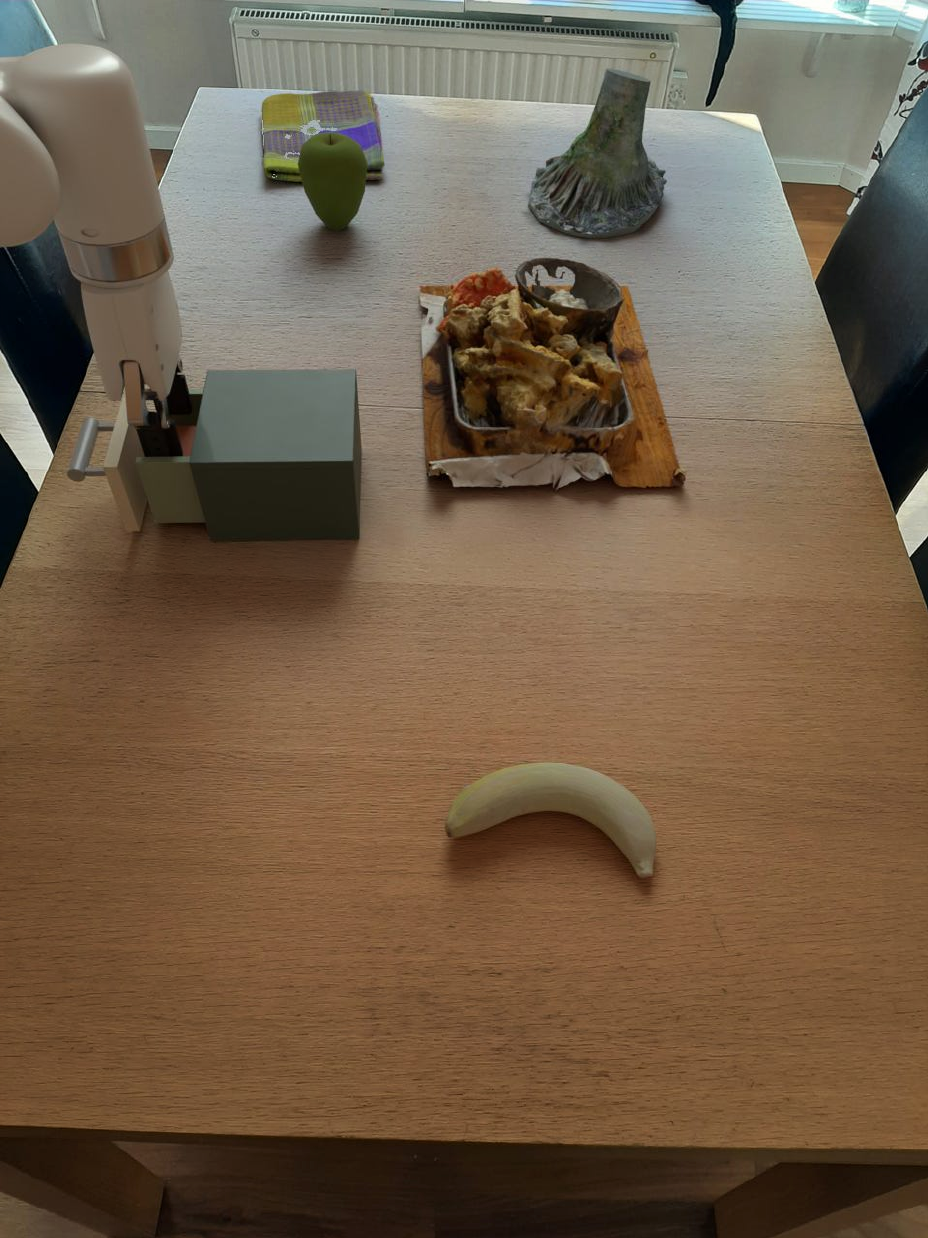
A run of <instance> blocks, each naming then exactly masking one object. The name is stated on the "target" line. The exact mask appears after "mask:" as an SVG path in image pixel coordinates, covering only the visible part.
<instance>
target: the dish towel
mask: <svg viewBox="0 0 928 1238" xmlns="http://www.w3.org/2000/svg"><path fill="white" fill-rule="evenodd" d="M378 107H379V106H378V104H377V103H376V102H375V97H374V96H372V95H371V93H370V92H369V91H366V92H365V90H364V89H358V90H357V89H356V90H345V91H338V90H337V91H336V90H331V91H330V90H329V91H318V92H312V93H291V92H290V93H278V94H277V93H276V94H272V95H269V96H267V97H265V99H263V101H262V102H261V112H262V120H263V128H264V130H263V135H264V146H263V138H262V137H261V144H262V148H263V147H264V154H263V153H262V166H263V172H264V174H265V176H267V177H268V176H269V177H268V178H269V179H272V180H278V181H286V182H294V183H295V182H297V183H298V182H299V183H300V182H301V183H302V180H301V176H300V172H299V167H298V162H297V161H298V160H299V156H300V155H298V154H294V155H293V154H288V155H287V158H289V159H286V158H285V157H284V156H285V154H286V152H287V153H288V152H292V153H295V152H296V153H298V152H299V153H300V151H301V147H302V144H304V143H305V142H306V141H307V140H309V139H310V138H311V137H312V136H314V135H310V136H309V135H307V134H306V135H305V134H304V133H303V132H301V129H303V128H302V127H300V126H303V125H308V123H309V122H310V121H312V120H316V121H317V120H320V122H318V123H319V125H320V127H321V128H325V130H323V131H320V132H319V133H318V134H320V133H326V132H334V133H340V134H343V135H346V136H348V137H350V138H352V139H353V140H354V141H356V142H357V143H358V144H360V146H361V148H362V149H363V152H364V154H365V157H366V160H367V162H368V165H367V175H366V181H374V180H376V181H377V180H382V179H383V178H382V174H383V173H382V172H383V169H384V167H385V159H384V155H383V152H382V135H381V132H382V131H381V127H380V117H379V116H380V115H379V109H378ZM260 126H261V128H260V129H261V131H260V132H261V133H260V134H261V135H262V123H261V122H260ZM303 127H304V126H303ZM332 127H333V128H337V130H336V131H331V130H326V128H330V129H331V128H332ZM316 131H317V130H316V129H315V128H314V127H310V128H308V129H307V133H311V134H313V133H315V132H316ZM286 134H288V135H290V136H291V135H292V136H291V137H290V139H287V138H285V136H286ZM315 135H316V134H315ZM293 151H294V152H293ZM263 156H264V157H263ZM290 159H292V160H290ZM294 160H295V161H294ZM273 174H275V175H273ZM272 176H273V177H275V178H271V177H272ZM276 176H277V177H276Z"/></svg>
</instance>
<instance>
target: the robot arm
mask: <svg viewBox="0 0 928 1238" xmlns="http://www.w3.org/2000/svg"><path fill="white" fill-rule="evenodd" d="M138 97H139V96H138V92H137V88H136V85H135V81H134V78H133V75H132V73H131V71H130V69H129V67H128V65H127V64H126V62H124V61H123V59H122V58H121V57H120V56H119V55H117V54H116V53H114V52H112V51H110V50H108V49H107V48H105V47H102V46H97V45H92V44H85V43H62V44H53V45H50V46H49V45H48V46H45V47H42V48H38V49H36V50H33V51H30V52H28V53H26V54H25V55H21V56H19V55H18V56H0V248H12V247H17V246H21V245H25V244H27V243H29V242H31V241H33V240H35V239H37V238H38V237H39V236H40V235H42V234H43V233H44V232H45V231H47V230H48V228H49V226H50V225H51V224H52V223H53V221H54V224H55V227H56V229H57V233H58V237H59V239H60V242H61V246H62V249H63V252H64V254H65V257H66V258H65V259H66V260H67V263H68V267H69V270H70V273H71V274H72V276H73V277H74V278H75V279H76V280H78V281H79V282H80V291H81V299H82V304H83V310H84V316H85V321H86V326H87V329H88V334H89V339H90V342H91V346H92V350H93V355H94V358H95V362H96V365H97V368H98V372H99V375H100V379H101V383H102V386H103V390H104V392H105V396H106V397H107V398H108V399H109V400H110V401H111V402H116V401H118V402H121V401H122V397H123V394H124V390H125V397H126V411H127V422H128V425H129V426H134V428H135V429H136V430H137V434H138V437H139V440H140V443H141V446H142V450H143V453H144V456H145V457H183V450H182V446H181V443H180V439H179V435H178V431H177V428H176V424H175V420H170V417H169V415H188V414H191V413H192V409H193V407H192V403H191V398H190V394H189V390H188V389H189V387H188V382H187V379H186V375H185V373H183V372H184V371H183V370H184V365H183V360H182V358H181V355H180V353H181V348H182V343H183V329H182V328H183V327H182V321H181V316H180V310H179V307H178V301H177V298H176V294H175V290H174V285H173V283H172V278H171V276H170V271H169V270H170V268H171V267H172V265H173V263H174V258H175V256H174V251H173V246H172V242H171V237H170V233H169V229H168V224H167V220H166V215H165V211H164V207H163V202H162V197H161V194H160V190H159V185H158V180H157V175H156V172H155V166H154V162H153V158H152V153H151V149H150V144H149V141H148V136H147V132H146V131H147V130H146V128H145V124H144V118H143V114H142V109H141V106H140V101H139V98H138ZM182 373H183V374H182ZM145 385H146V386H148V388H145V387H146V386H145ZM146 401H153V405H154V408H155V411H150V410H149V409H148V407H147V408H146V406H147V402H146ZM147 409H148V410H147Z"/></svg>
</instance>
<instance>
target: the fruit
mask: <svg viewBox="0 0 928 1238" xmlns="http://www.w3.org/2000/svg"><path fill="white" fill-rule="evenodd" d="M538 812H561V813H566V814H570V815H573V816H576V817H579V818H581V819H582V820H585V821H587V822H589V823H590V824H592V825H594V826H595V827H596V828H598V829H599V830H601V832H603V833H604V834H605V835H606V836H607V837H608V838H609V839H610V840H611V841H612V842H613V843H614V844H615V845H616V847H617V849H619V850H620V851H621V852H622V854H623V855H624V856H625V857H626V859H627V860H628V861H629V863H630V864H631V865H632V868H633V869H634V871H635V874H636V876H637V877H638V878H640V879H646V878H650V877H652V876H653V875H654V862H655V856H656V851H657V833H656V827H655V824H654V821H653V819H652V817H651V815H650V813H649V812H648V810H647V809H646V807H645V806H644V805H643V803H642V802H641V801H640V800H639V799H638V798H637V796H636V795H634V793H632V792H631V791H630V790H629V789H627V788H626V787H624V786H623V785H622V784H621V783H619V782H618V781H616V780H614V779H613V778H611V777H609V776H607V775H605V774H603V773H601V772H599V771H597V770H594V769H591V768H588V767H586V766H581V765H573V764H569V763H565V762H550V761H549V762H532V763H523V764H518V765H512V766H507V767H504V768H501V769H498V770H495V771H492V772H490V773H488V774H486V775H485V776H482V777H480V778H479V779H477V780H476V781H474V782H472V783H470V784H467V785H465V786H463V787H462V788H461V790H460V792H459V794H457V795H456V796H455V798H454V799H453V800H452V802H451V804H450V807H449V809H448V813H447V816H446V819H445V824H444V831H445V834H446V836H447V837H448V838H449V839H450V838H451V839H453V838H455V839H457V838H461V837H466V836H470V835H473V834H476V833H479V832H482V831H485V830H487V829H489V828H492V827H494V826H497V825H499V824H501V823H503V822H506V821H508V820H510V819H513V818H515V817H519V816H523V815H526V814H531V813H532V814H533V813H538Z"/></svg>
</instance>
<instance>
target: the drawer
mask: <svg viewBox="0 0 928 1238" xmlns="http://www.w3.org/2000/svg"><path fill="white" fill-rule="evenodd" d="M188 390H189V394H190V398H191V403H192V407H193V409H192V413H191V414H188V415H169V417H170V420H175V424H176V426H197V421H198V416H199V411H200V406H201V400H202V395H203V390H204V388H188ZM146 408H147V410H148V411H149V409H148V406H147V405H146ZM99 432H100V433H101V432H103V433H104V432H105V433H106V432H111V437H110V441H109V443H108V447H107V450H106V451H107V452H106V454H105V458H104V461H103V464H102V466H90V463H91V459H92V456H93V452H94V449H95V446H96V442H97V439H98V435H99ZM76 439H77V440H76V443H75V446H74V449H73V452H72V456H71V459H70V462H69V464H68V468H67V471H66V476H67V478H68V479H69V480H71V481H73V482H76V483H80V482H83V481H85V479H86V477H106V480H107V482H108V485H109V487H110V488H109V489H110V490H111V493H112V496H113V499H114V501H115V504H116V507H117V509H118V512H119V515H120V517H121V520H122V522H123V526H124V528H125V530H126V532H141V528H142V523H143V520H144V515H145V510H146V507H147V502H148V505H149V509H150V511H151V515H152V517H153V521H154V523H155V524H187V523H188V524H190V523H191V524H192V523H193V524H194V523H197V524H198V523H205V519H204V516H203V512H202V508H201V505H200V501H199V497H198V493H197V490H196V486H195V482H194V479H193V475H192V471H191V468H190V464H189V462H190V457H191V456H189V457H144V453H143V450H142V446H141V443H140V440H139V437H138V434H137V430H136V429H135V428H134V426H129V425H128V422H127V411H126V397H125V389H124V390H123V394H122V397H121V401H120V405H119V407H118V413H117V415H116V419H115V422H100V421H99V420H98V419H96V418H94V417H85V418H84V419H83V420H82V423H81V427H80V430H79V434H78V437H77V438H76Z"/></svg>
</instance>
